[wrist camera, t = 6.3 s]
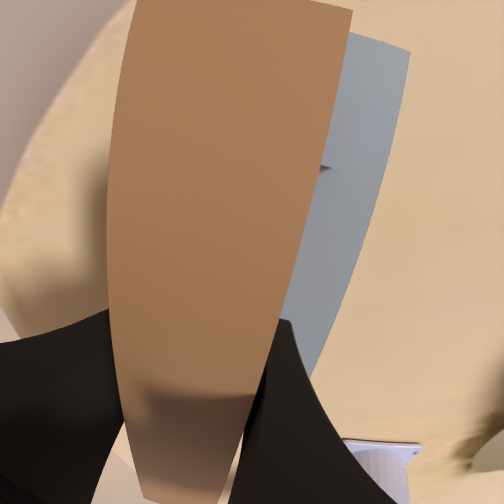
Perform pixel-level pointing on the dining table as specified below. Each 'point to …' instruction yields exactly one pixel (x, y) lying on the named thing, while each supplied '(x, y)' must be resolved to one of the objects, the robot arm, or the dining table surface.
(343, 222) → the display stand
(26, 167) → the dining table surface
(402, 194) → the dining table surface
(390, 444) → the robot arm
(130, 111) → the brown bar
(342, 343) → the dining table surface
